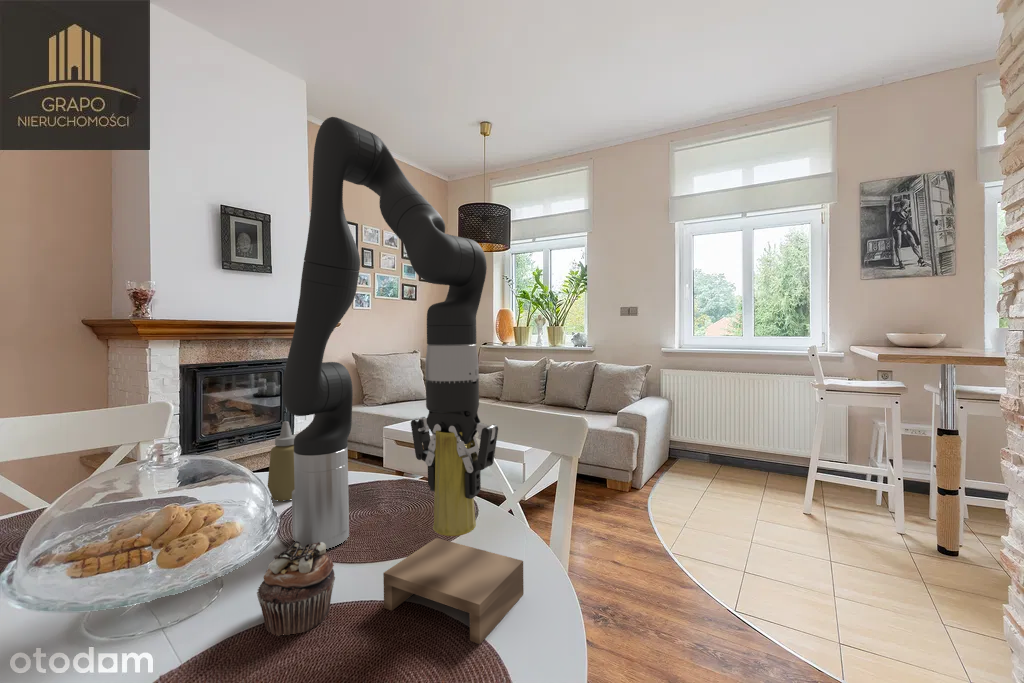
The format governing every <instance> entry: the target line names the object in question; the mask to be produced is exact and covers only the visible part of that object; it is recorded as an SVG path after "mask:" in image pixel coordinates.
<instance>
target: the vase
mask: <svg viewBox="0 0 1024 683" xmlns="http://www.w3.org/2000/svg"><path fill="white" fill-rule="evenodd" d="M460 434H461V436H462V432H460ZM456 440H457V438H456V437H455V434H454V433H446V432H439V431H436V446H435V492H434V494H433V495H434V499H433V502H434V503H433V525H432V529H433V532H435V533H436V534H438V535H440V536H445V537H458V536H463V535H466V534H469V533H471V532H472V531H474V530H475V528H476V527H477V523H476V522H477V521H476V512H475V511H476V510H475V497H474V498H472V499H468V498H466V497H465V473H466V472H467V470H466V468H465V465H464V462H463V459H462V458H460V457H459V455H458V452H457V442H456ZM458 443H459V442H458ZM471 444H472V443H471V442H469V443H468V444H467V445H465V447H466V448H467V449H469V448H471Z"/></svg>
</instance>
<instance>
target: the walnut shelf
mask: <svg viewBox="0 0 1024 683" xmlns="http://www.w3.org/2000/svg"><path fill="white" fill-rule="evenodd" d="M382 575H383V608H384V609H386V610H389V611H391V612H393V611H394V610H395V609H396V608H398V607H399V606H400V605H401V604H403V603H404V602H405V601H407V600H408V599H409V598H411V596H413V595H416V596H419V597H422V598H425V599H427V600H431V601H434V602H436V603H440V604H443V605H444V606H445V605H446V606H448V607H450V608H454V609H455V610H459V611H461V612H465V613H468V614H469V641H470V642H472V643H475V644H477V645H481V644H482V643H483V641H484V640H486V638H487V637H488V636H489V635H490V633H492V631H493V630H494V629H495V628H496V627H497V625H498V624H499V623H500V622H501V621H502V620H503V618H504V617H505V616H506V615H507V614H508V613H509V612H510V611H511V609H512V608H513V607H514V606H515V605H516V603H517V602H519V600H520V599H521V598H522V597H523V596H524V589H525V588H524V561H523V559H518V558H514V557H510V556H507V555H502V554H499V553H495V552H491V551H487V550H483V549H479V548H476V547H471V546H468V545H465V544H461V543H458V542H453V541H449V540H447V539H441V538H437V537H436V538H434V539H433V540H431V541H430V542H428V543H426V544H425V545H423V546H422V547H420V548H419V549H418V550H415V552H413V553H411V554H410V555H408V556H407V557H405V558H404V559H402V560H400V561H399V562H397V564H394V565H393V566H392V567H390V568H388V569H387V570H385V571H384V572H383V574H382Z"/></svg>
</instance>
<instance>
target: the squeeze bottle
mask: <svg viewBox="0 0 1024 683" xmlns="http://www.w3.org/2000/svg"><path fill="white" fill-rule="evenodd" d="M281 424H282V425H281V429H280V435H279V436H277V437H275V438H274V447H272V448H271V449H270V455H269V465H268V466H269V467H268V475H267V476H268V477H267V487H268V490H269V492H270V495H271V498H272V500H273V499H274V500H278V501H277V502H284V501H283V500H290V499H292V491H293V490H295V481H294V438H295V436H296V435H293V433H292V430H291V425H290V422H289V421H286V420H285V421H282V423H281ZM274 500H273V501H274ZM290 501H291V500H290Z"/></svg>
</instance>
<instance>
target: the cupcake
mask: <svg viewBox="0 0 1024 683" xmlns="http://www.w3.org/2000/svg"><path fill="white" fill-rule="evenodd" d="M267 566H268V568H267V569H266V571H265V573H264V575H263V581H262V582H261V583H260V585H259V587H258V589H257V592H256V595H257V601H258V602H259V605H260V608H261V615H262V617H263V622H264V627H265V630H266V631H268V632H271V633H272V634H276V635H275V636H277V635H278V636H277V637H281V636H280V635H283V634H284V635H283V636H291V635H290V634H296V633H300V634H301V633H302V632H303V633H305V631H306V632H309V631H310V630H312V628H313V629H314V628H315V627H317V626H318V625H319V624H322V623H323V622H324V621H325V619H326V617H327V615H328V614H329V612H330V607H331V602H332V601H331V600H332V595H333V594H332V593H333V588H334V585H335V584H334V583H335V579H336V577H335V570H334V567H335V565H334V562H333V560H332V558H330V556H329V554H328V553H327V550H326V545H325V543H323V542H321V543H319V542H317V543H313V544H307V545H306V546H305V547H301V545H300V542H298V541H295V542H293V543H292V544H291V546H289V547H287V548H286V549H285V550H282V551H281V552H280V553H279V554H275V555H274V556H273V560H272V561H271V562H270V563H269V564H268V565H267ZM322 621H323V622H322ZM268 632H267V633H268ZM271 633H270V634H271ZM272 634H271V635H272ZM296 635H297V634H296Z"/></svg>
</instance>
